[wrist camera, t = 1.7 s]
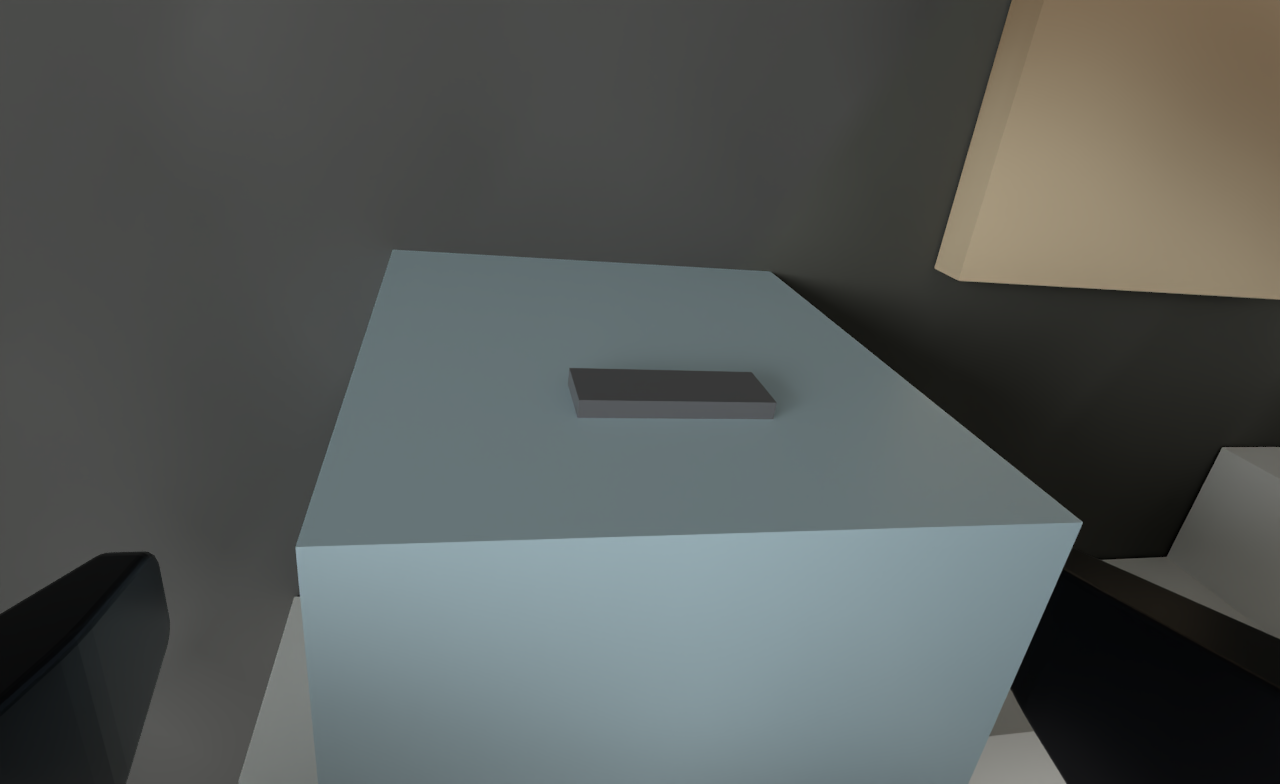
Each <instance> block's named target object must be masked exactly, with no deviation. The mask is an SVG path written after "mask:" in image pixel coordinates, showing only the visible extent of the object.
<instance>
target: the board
mask: <svg viewBox="0 0 1280 784" xmlns="http://www.w3.org/2000/svg"><path fill="white" fill-rule="evenodd" d="M935 269H937V270H939V271H940V272H942V273H944V274H946V275H948V276H950V277H952V278H954V279H956V280H958V281H971V282H988V283H1005V284H1022V285H1040V286H1057V287H1074V288H1091V289H1108V290H1125V291H1142V292H1160V293H1177V294H1194V295H1211V296H1228V297H1245V298H1263V299H1280V0H1012V1H1011V5H1010V8H1009V12H1008V15H1007V19H1006V22H1005V26H1004V29H1003V33H1002V36H1001V39H1000V43H999V46H998V50H997V53H996V57H995V60H994V64H993V67H992V71H991V74H990V78H989V81H988V84H987V88H986V91H985V95H984V98H983V102H982V105H981V109H980V112H979V116H978V119H977V123H976V126H975V129H974V133H973V136H972V140H971V143H970V147H969V150H968V154H967V157H966V161H965V164H964V168H963V171H962V174H961V178H960V181H959V185H958V188H957V192H956V195H955V199H954V202H953V206H952V209H951V213H950V216H949V219H948V223H947V226H946V230H945V233H944V237H943V240H942V244H941V247H940V251H939V254H938V258H937V261H936V264H935Z"/></svg>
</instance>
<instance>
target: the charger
mask: <svg viewBox="0 0 1280 784" xmlns="http://www.w3.org/2000/svg"><path fill="white" fill-rule="evenodd" d="M1082 524H1083V522H1082V521H1081V520H1079V519H1078V518H1077V517H1076V516H1075V515H1073V514H1072V513H1071V512H1070V511H1068V510H1067V509H1066V508H1065V507H1063V506H1062V505H1061V504H1060V503H1058V502H1057V501H1056V500H1055V499H1053V498H1052V497H1051V496H1050V495H1048V494H1047V493H1046V492H1045V491H1043V490H1042V489H1041V488H1040V487H1038V486H1037V485H1036V484H1035V483H1033V482H1032V481H1031V480H1030V479H1028V478H1027V477H1026V476H1025V475H1023V474H1022V473H1021V472H1020V471H1018V470H1017V469H1016V468H1015V467H1013V466H1012V465H1011V464H1010V463H1008V462H1007V461H1006V460H1005V459H1003V458H1002V457H1001V456H1000V455H998V454H997V453H996V452H995V451H994V450H992V449H991V448H990V447H989V446H987V445H986V444H985V443H984V442H982V441H981V440H980V439H979V438H977V437H976V436H975V435H974V434H972V433H971V432H970V431H969V430H967V429H966V428H965V427H964V426H962V425H961V424H960V423H959V422H957V421H956V420H955V419H954V418H952V417H951V416H950V415H949V414H947V413H946V412H945V411H944V410H942V409H941V408H940V407H939V406H937V405H936V404H935V403H934V402H932V401H931V400H930V399H929V398H927V397H926V396H925V395H924V394H922V393H921V392H920V391H919V390H917V389H916V388H915V387H914V386H913V385H911V384H910V383H909V382H908V381H906V380H905V379H904V378H903V377H901V376H900V375H899V374H898V373H896V372H895V371H894V370H893V369H891V368H890V367H889V366H888V365H886V364H885V363H884V362H883V361H881V360H880V359H879V358H878V357H876V356H875V355H874V354H873V353H871V352H870V351H869V350H868V349H866V348H865V347H864V346H863V345H861V344H860V343H859V342H858V341H856V340H855V339H854V338H853V337H851V336H850V335H849V334H848V333H846V332H845V331H844V330H843V329H841V328H840V327H839V326H838V325H836V324H835V323H834V322H833V321H831V320H830V319H829V318H828V317H827V316H825V315H824V314H823V313H822V312H820V311H819V310H818V309H817V308H815V307H814V306H813V305H812V304H810V303H809V302H808V301H807V300H805V299H804V298H803V297H802V296H800V295H799V294H798V293H797V292H795V291H794V290H793V289H792V288H790V287H789V286H788V285H787V284H785V283H784V282H783V281H782V280H780V279H779V278H778V277H777V276H775V275H774V274H773V273H772V272H770V271H753V270H736V269H719V268H701V267H684V266H667V265H650V264H632V263H615V262H598V261H580V260H563V259H546V258H529V257H511V256H494V255H477V254H459V253H442V252H425V251H408V250H393V251H392V254H391V257H390V260H389V263H388V266H387V269H386V272H385V275H384V278H383V281H382V284H381V287H380V290H379V293H378V296H377V299H376V302H375V306H374V309H373V312H372V315H371V318H370V321H369V324H368V327H367V330H366V333H365V336H364V339H363V342H362V345H361V348H360V351H359V354H358V357H357V360H356V364H355V367H354V370H353V373H352V376H351V379H350V382H349V385H348V388H347V391H346V394H345V397H344V400H343V403H342V406H341V409H340V412H339V415H338V419H337V422H336V425H335V428H334V431H333V434H332V437H331V440H330V443H329V446H328V449H327V452H326V455H325V458H324V461H323V464H322V467H321V470H320V473H319V477H318V480H317V483H316V486H315V489H314V492H313V495H312V498H311V501H310V504H309V507H308V510H307V513H306V516H305V519H304V522H303V525H302V528H301V531H300V535H299V538H298V541H297V544H296V547H295V548H296V559H297V569H298V579H299V590H300V600H301V611H302V621H303V632H304V642H305V653H306V663H307V673H308V684H309V694H310V705H311V715H312V726H313V736H314V747H315V757H316V767H317V778H318V784H968V783H969V781H970V779H971V776H972V774H973V772H974V770H975V767H976V765H977V763H978V760H979V758H980V756H981V754H982V751H983V749H984V747H985V745H986V742H987V740H988V738H989V735H990V733H991V731H992V729H993V726H994V724H995V722H996V719H997V717H998V715H999V713H1000V710H1001V708H1002V706H1003V704H1004V701H1005V699H1006V697H1007V694H1008V692H1009V690H1010V688H1011V685H1012V683H1013V681H1014V679H1015V676H1016V674H1017V672H1018V669H1019V667H1020V665H1021V663H1022V660H1023V658H1024V656H1025V654H1026V651H1027V649H1028V647H1029V644H1030V642H1031V640H1032V638H1033V635H1034V633H1035V631H1036V628H1037V626H1038V624H1039V622H1040V619H1041V617H1042V615H1043V613H1044V610H1045V608H1046V606H1047V603H1048V601H1049V599H1050V597H1051V594H1052V592H1053V590H1054V588H1055V585H1056V583H1057V581H1058V578H1059V576H1060V574H1061V572H1062V569H1063V567H1064V565H1065V563H1066V560H1067V558H1068V556H1069V553H1070V551H1071V549H1072V547H1073V544H1074V542H1075V540H1076V537H1077V535H1078V533H1079V531H1080V528H1081V526H1082Z"/></svg>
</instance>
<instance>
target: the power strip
mask: <svg viewBox="0 0 1280 784" xmlns="http://www.w3.org/2000/svg"><path fill="white" fill-rule="evenodd" d="M1102 561H1104V562H1107V563H1109V564H1111V565H1113V566H1116V567H1118V568H1120V569H1122V570H1125V571H1127V572H1129V573H1131V574H1134V575H1136V576H1138V577H1141V578H1143V579H1145V580H1147V581H1150V582H1152V583H1154V584H1156V585H1159V586H1161V587H1163V588H1165V589H1168V590H1170V591H1172V592H1175V593H1177V594H1179V595H1181V596H1184V597H1186V598H1188V599H1190V600H1193V601H1195V602H1197V603H1199V604H1202V605H1204V606H1206V607H1209V608H1211V609H1213V610H1215V611H1218V612H1220V613H1222V614H1224V615H1227V616H1229V617H1231V618H1233V619H1236V620H1238V621H1240V622H1243V623H1245V624H1247V625H1249V626H1252V627H1254V628H1256V629H1258V630H1261V631H1263V632H1265V633H1267V634H1270V635H1272V636H1274V637H1277V638H1279V639H1280V447H1222V449H1221V451H1220V453H1219V455H1218V457H1217V459H1216V460H1215V462H1214V464H1213V466H1212V468H1211V470H1210V472H1209V474H1208V476H1207V478H1206V480H1205V482H1204V484H1203V486H1202V488H1201V490H1200V492H1199V494H1198V496H1197V498H1196V500H1195V502H1194V504H1193V506H1192V508H1191V510H1190V512H1189V514H1188V516H1187V518H1186V520H1185V522H1184V523H1183V525H1182V527H1181V529H1180V531H1179V533H1178V535H1177V537H1176V539H1175V541H1174V543H1173V545H1172V547H1171V549H1170V551H1169V553H1168V555H1167V557H1154V558H1132V559H1110V560H1102ZM238 784H318V778H317V767H316V757H315V747H314V736H313V726H312V715H311V705H310V694H309V684H308V673H307V663H306V653H305V642H304V632H303V621H302V611H301V600H300V597H294V599H293V603H292V606H291V609H290V612H289V616H288V619H287V622H286V626H285V629H284V632H283V636H282V639H281V642H280V646H279V649H278V652H277V656H276V659H275V662H274V666H273V669H272V672H271V676H270V679H269V682H268V685H267V689H266V692H265V695H264V699H263V702H262V705H261V709H260V712H259V715H258V719H257V722H256V725H255V729H254V732H253V735H252V739H251V742H250V745H249V749H248V752H247V755H246V758H245V762H244V765H243V768H242V772H241V775H240V778H239V782H238ZM968 784H1066V783H1065V781H1064V779H1063V778H1062V776H1061V774H1060V773H1059V771H1058V770H1057V768H1056V766H1055V765H1054V763H1053V762H1052V760H1051V758H1050V757H1049V755H1048V753H1047V752H1046V750H1045V749H1044V747H1043V745H1042V744H1041V742H1040V740H1039V739H1038V737H1037V736H1036V734H1035V732H1034V731H1033V729H1032V727H1031V726H1030V724H1029V722H1028V721H1027V719H1026V717H1025V715H1024V714H1023V712H1022V710H1021V708H1020V706H1019V705H1018V703H1017V701H1016V699H1015V697H1014V695H1013V693H1012V691H1011V689H1010V690H1009V692H1008V694H1007V697H1006V699H1005V701H1004V704H1003V706H1002V708H1001V710H1000V713H999V715H998V717H997V719H996V722H995V724H994V726H993V729H992V731H991V733H990V735H989V738H988V740H987V742H986V745H985V747H984V749H983V751H982V754H981V756H980V758H979V760H978V763H977V765H976V767H975V770H974V772H973V774H972V776H971V779H970V781H969V783H968Z"/></svg>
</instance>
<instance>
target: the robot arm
mask: <svg viewBox="0 0 1280 784" xmlns="http://www.w3.org/2000/svg"><path fill="white" fill-rule="evenodd" d="M169 632H170V620H169V614H168V609H167V603H166V598H165V593H164V588H163V583H162V578H161V572H160V567H159V564H158V561H157V559H156V558H155V556H154V555H152V554H151V553H149V552H114V553H104V554H100V555H99V556H97V557H95V558H93V559H91V560H90V561H88V562H86V563H85V564H83V565H81V566H80V567H78V568H76V569H75V570H73V571H71V572H70V573H68V574H66V575H65V576H63V577H61V578H60V579H58V580H56V581H55V582H53V583H51V584H50V585H48V586H46V587H45V588H43V589H41V590H40V591H38V592H36V593H35V594H33V595H31V596H30V597H28V598H26V599H25V600H23V601H21V602H20V603H18V604H16V605H15V606H13V607H11V608H10V609H8V610H6V611H5V612H3V613H1V614H0V784H126V782H127V779H128V776H129V773H130V769H131V766H132V762H133V759H134V756H135V752H136V749H137V746H138V742H139V739H140V736H141V732H142V729H143V726H144V722H145V719H146V715H147V712H148V709H149V705H150V702H151V699H152V695H153V692H154V689H155V685H156V682H157V679H158V675H159V672H160V668H161V665H162V662H163V658H164V655H165V652H166V648H167V645H168V640H169ZM1010 689H1011V691H1012V693H1013V695H1014V697H1015V699H1016V701H1017V703H1018V705H1019V706H1020V708H1021V710H1022V712H1023V714H1024V715H1025V717H1026V719H1027V721H1028V722H1029V724H1030V726H1031V727H1032V729H1033V731H1034V732H1035V734H1036V736H1037V737H1038V739H1039V740H1040V742H1041V744H1042V745H1043V747H1044V749H1045V750H1046V752H1047V753H1048V755H1049V757H1050V758H1051V760H1052V762H1053V763H1054V765H1055V766H1056V768H1057V770H1058V771H1059V773H1060V774H1061V776H1062V778H1063V779H1064V781H1065V783H1066V784H1280V639H1279V638H1277V637H1274V636H1272V635H1270V634H1267V633H1265V632H1263V631H1261V630H1258V629H1256V628H1254V627H1252V626H1249V625H1247V624H1245V623H1243V622H1240V621H1238V620H1236V619H1233V618H1231V617H1229V616H1227V615H1224V614H1222V613H1220V612H1218V611H1215V610H1213V609H1211V608H1209V607H1206V606H1204V605H1202V604H1199V603H1197V602H1195V601H1193V600H1190V599H1188V598H1186V597H1184V596H1181V595H1179V594H1177V593H1175V592H1172V591H1170V590H1168V589H1165V588H1163V587H1161V586H1159V585H1156V584H1154V583H1152V582H1150V581H1147V580H1145V579H1143V578H1141V577H1138V576H1136V575H1134V574H1131V573H1129V572H1127V571H1125V570H1122V569H1120V568H1118V567H1116V566H1113V565H1111V564H1109V563H1107V562H1104V561H1102V560H1100V559H1097V558H1095V557H1093V556H1091V555H1088V554H1086V553H1084V552H1082V551H1079V550H1077V549H1075V548H1073V547H1072V549H1071V551H1070V553H1069V556H1068V558H1067V560H1066V563H1065V565H1064V567H1063V569H1062V572H1061V574H1060V576H1059V578H1058V581H1057V583H1056V585H1055V588H1054V590H1053V592H1052V594H1051V597H1050V599H1049V601H1048V603H1047V606H1046V608H1045V610H1044V613H1043V615H1042V617H1041V619H1040V622H1039V624H1038V626H1037V628H1036V631H1035V633H1034V635H1033V638H1032V640H1031V642H1030V644H1029V647H1028V649H1027V651H1026V654H1025V656H1024V658H1023V660H1022V663H1021V665H1020V667H1019V669H1018V672H1017V674H1016V676H1015V679H1014V681H1013V683H1012V685H1011V688H1010Z"/></svg>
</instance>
